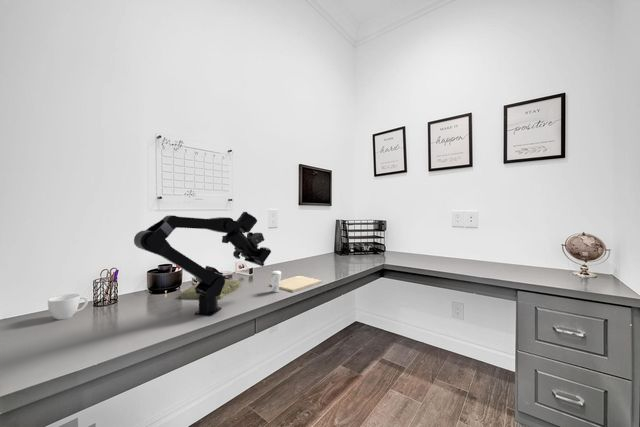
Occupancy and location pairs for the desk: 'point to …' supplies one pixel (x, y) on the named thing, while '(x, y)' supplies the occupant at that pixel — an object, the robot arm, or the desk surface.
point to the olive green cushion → (227, 288)
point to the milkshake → (275, 280)
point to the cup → (65, 305)
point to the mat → (297, 283)
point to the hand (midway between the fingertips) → (263, 265)
